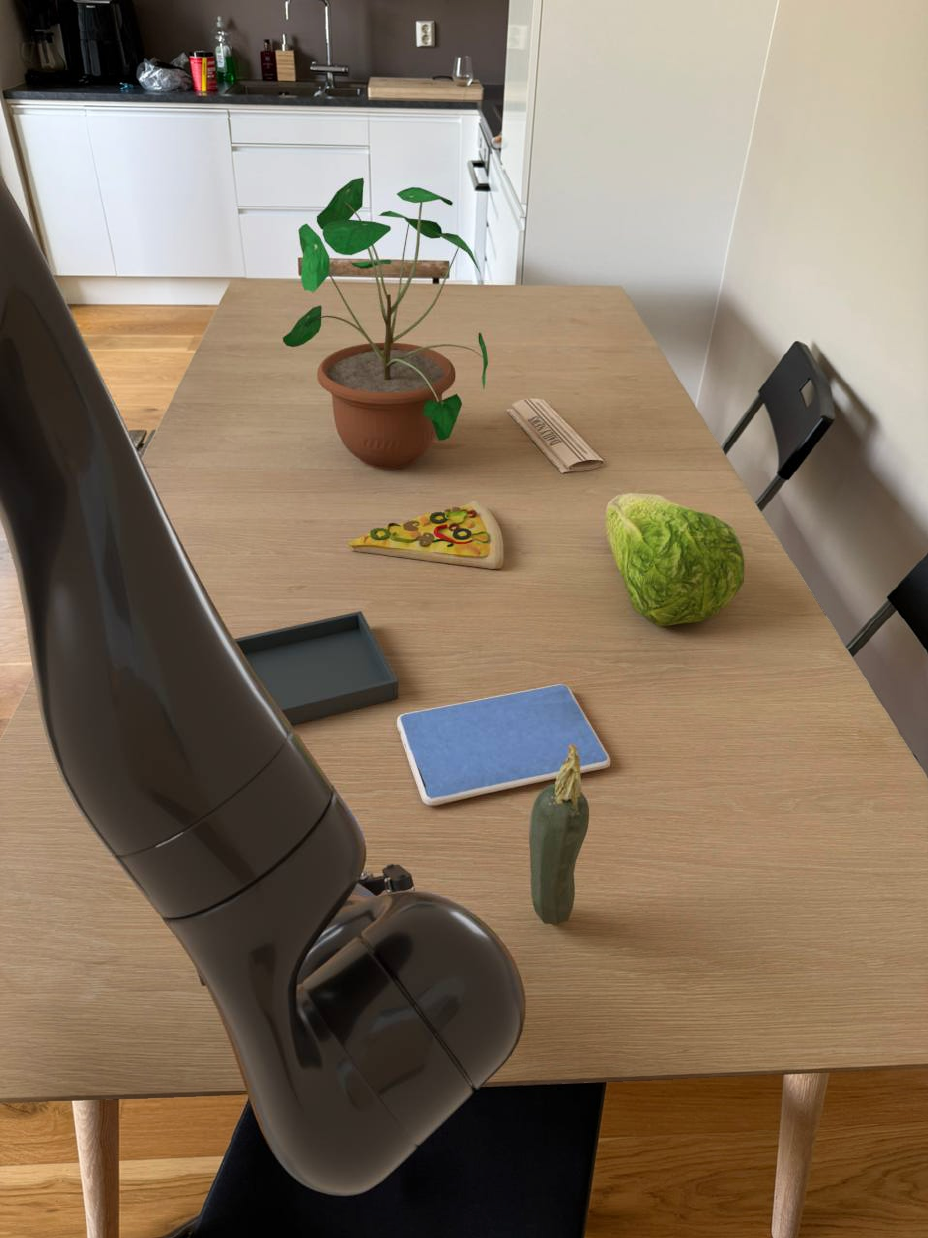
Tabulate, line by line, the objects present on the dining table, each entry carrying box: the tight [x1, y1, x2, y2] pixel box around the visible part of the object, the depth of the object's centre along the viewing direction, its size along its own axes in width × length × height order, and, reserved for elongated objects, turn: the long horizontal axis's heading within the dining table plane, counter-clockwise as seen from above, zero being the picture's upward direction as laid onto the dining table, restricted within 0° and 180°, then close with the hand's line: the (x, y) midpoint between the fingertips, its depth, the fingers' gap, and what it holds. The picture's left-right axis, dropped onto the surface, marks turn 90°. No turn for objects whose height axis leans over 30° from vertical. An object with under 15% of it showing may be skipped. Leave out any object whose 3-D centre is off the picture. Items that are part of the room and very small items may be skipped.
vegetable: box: [528, 744, 590, 926], centre depth 69 cm, size 4×4×20 cm
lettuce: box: [604, 492, 745, 628], centre depth 112 cm, size 14×24×14 cm
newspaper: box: [506, 398, 605, 474], centre depth 146 cm, size 24×7×2 cm, turn 19°
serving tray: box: [234, 610, 400, 726], centre depth 97 cm, size 17×13×2 cm
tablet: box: [396, 683, 611, 807], centre depth 90 cm, size 19×13×1 cm, turn 107°
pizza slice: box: [347, 500, 504, 570], centre depth 119 cm, size 16×21×3 cm
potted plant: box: [282, 177, 489, 470], centre depth 131 cm, size 31×29×40 cm
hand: (293, 903), depth 64 cm, fingers open, 8 cm apart
